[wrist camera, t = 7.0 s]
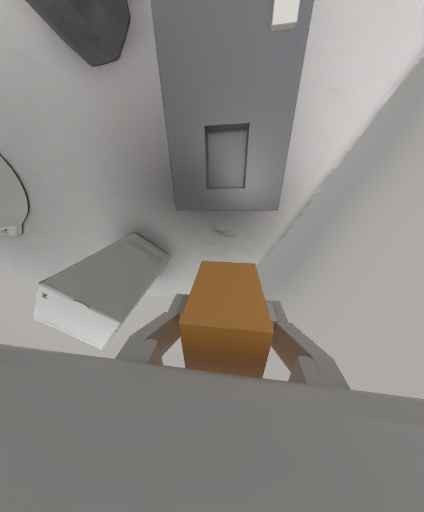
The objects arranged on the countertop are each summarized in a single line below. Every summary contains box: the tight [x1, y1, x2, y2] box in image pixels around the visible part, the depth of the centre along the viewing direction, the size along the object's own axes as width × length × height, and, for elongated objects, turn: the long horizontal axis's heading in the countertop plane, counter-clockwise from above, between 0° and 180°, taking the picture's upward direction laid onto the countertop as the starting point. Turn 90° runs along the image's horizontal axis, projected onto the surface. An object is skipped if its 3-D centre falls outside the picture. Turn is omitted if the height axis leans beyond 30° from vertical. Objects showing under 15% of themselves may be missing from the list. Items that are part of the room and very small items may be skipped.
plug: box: [179, 261, 274, 378], centre depth 9 cm, size 4×5×6 cm
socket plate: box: [151, 0, 314, 210], centre depth 17 cm, size 14×20×4 cm
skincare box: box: [33, 233, 170, 350], centre depth 22 cm, size 8×7×16 cm
